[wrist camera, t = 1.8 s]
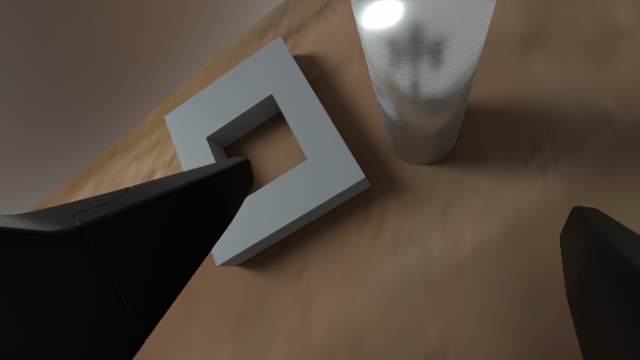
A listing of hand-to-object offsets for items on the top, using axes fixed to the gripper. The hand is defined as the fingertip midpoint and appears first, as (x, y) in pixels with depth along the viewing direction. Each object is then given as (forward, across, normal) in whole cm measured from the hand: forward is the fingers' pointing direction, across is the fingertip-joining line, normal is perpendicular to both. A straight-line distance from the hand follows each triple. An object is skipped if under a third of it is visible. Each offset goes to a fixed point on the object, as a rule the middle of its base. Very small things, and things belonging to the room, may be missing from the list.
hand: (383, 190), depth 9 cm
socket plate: (+12, +12, +6) cm, 18 cm away
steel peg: (+14, 0, +4) cm, 15 cm away
